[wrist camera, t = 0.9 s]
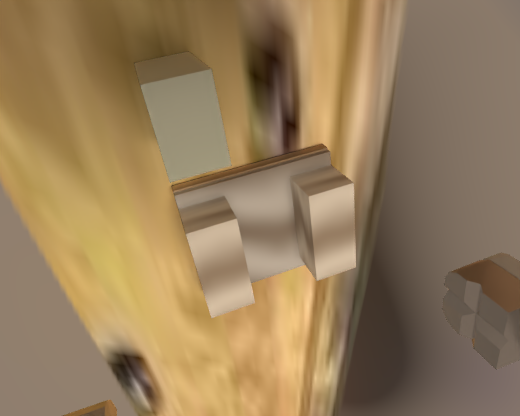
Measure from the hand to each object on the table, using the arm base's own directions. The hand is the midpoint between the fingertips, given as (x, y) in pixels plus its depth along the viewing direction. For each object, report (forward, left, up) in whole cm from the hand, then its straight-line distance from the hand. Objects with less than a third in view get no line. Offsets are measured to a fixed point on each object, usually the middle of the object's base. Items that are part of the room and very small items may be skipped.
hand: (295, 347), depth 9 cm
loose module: (0, 0, -25) cm, 25 cm away
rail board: (+13, +5, -25) cm, 28 cm away
